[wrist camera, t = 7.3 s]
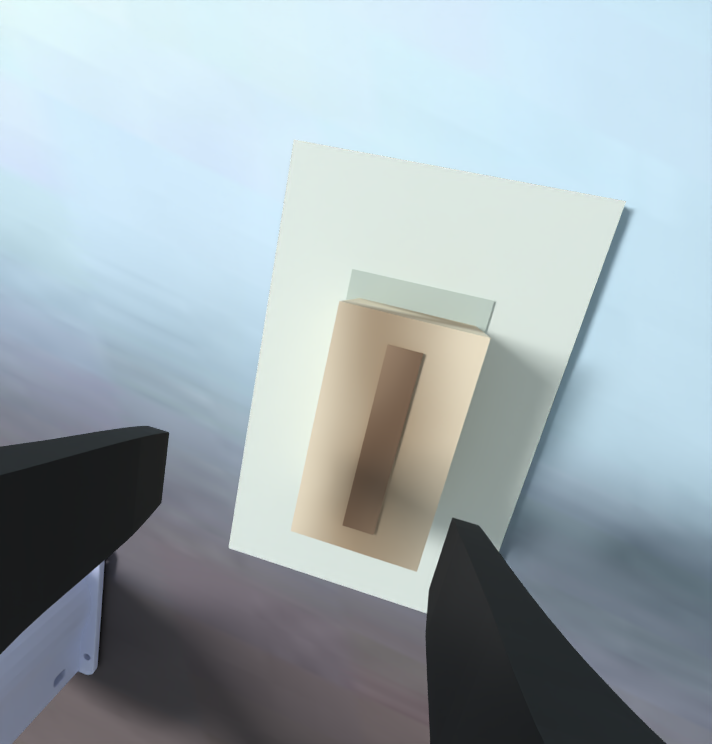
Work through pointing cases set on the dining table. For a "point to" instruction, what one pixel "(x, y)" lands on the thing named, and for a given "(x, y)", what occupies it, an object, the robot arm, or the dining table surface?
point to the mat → (425, 295)
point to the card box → (386, 428)
